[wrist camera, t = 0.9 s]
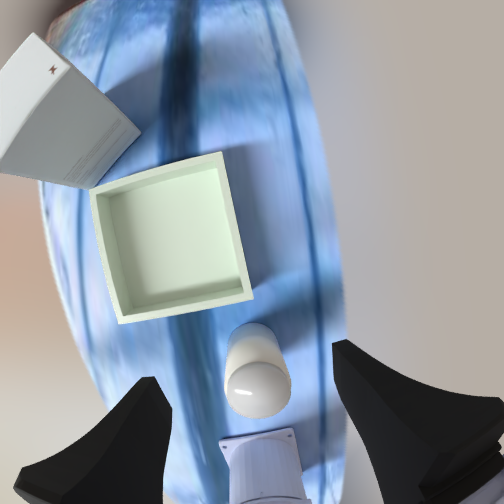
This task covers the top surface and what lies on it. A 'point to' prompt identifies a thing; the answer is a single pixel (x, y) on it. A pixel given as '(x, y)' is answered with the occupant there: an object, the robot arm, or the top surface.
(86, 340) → the top surface
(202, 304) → the tray
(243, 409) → the shaker
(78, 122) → the supplement box
